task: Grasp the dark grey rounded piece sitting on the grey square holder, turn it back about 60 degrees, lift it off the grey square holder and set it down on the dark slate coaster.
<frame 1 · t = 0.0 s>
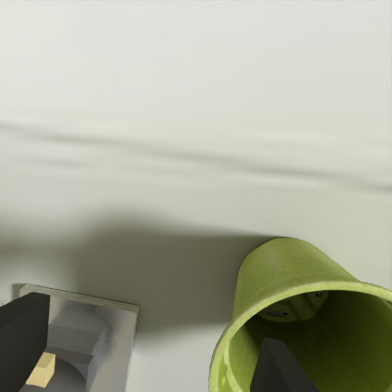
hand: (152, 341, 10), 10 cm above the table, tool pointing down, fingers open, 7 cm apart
dark grey rounded piece: (58, 376, 20), point 3 cm above the table, touching grey square holder
plant pot: (281, 278, 21), on the table
grey square holder: (77, 342, 23), on the table
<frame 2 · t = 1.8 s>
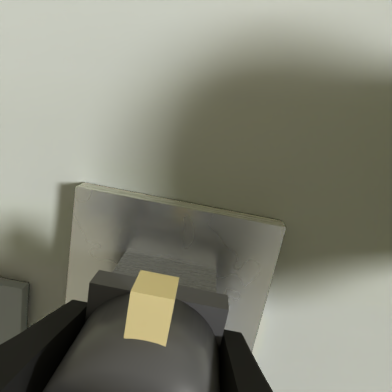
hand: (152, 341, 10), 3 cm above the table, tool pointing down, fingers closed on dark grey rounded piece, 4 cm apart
dark grey rounded piece: (153, 337, 11), point 3 cm above the table, touching gripper, grey square holder
grey square holder: (166, 289, 13), on the table
when the fingers open (2 cm above the table, at t = 6.2 s): dark grey rounded piece drops 2 cm, resting on coaster.
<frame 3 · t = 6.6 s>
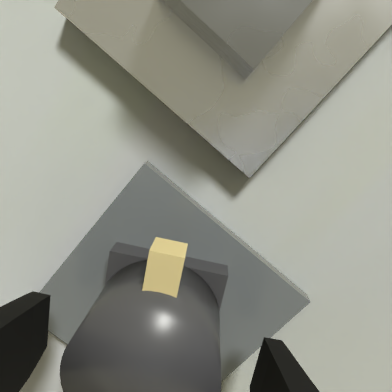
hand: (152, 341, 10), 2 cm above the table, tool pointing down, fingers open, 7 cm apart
dark grey rounded piece: (162, 302, 12), resting on coaster
coaster: (163, 300, 13), on the table
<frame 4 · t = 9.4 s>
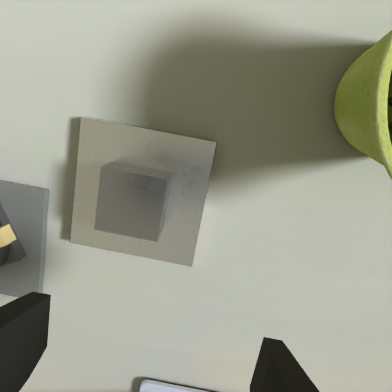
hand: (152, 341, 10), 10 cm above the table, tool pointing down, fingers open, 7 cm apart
plant pot: (384, 101, 18), on the table
grey square holder: (142, 192, 20), on the table
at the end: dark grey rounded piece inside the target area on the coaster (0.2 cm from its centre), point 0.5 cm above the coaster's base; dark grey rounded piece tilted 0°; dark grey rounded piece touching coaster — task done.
